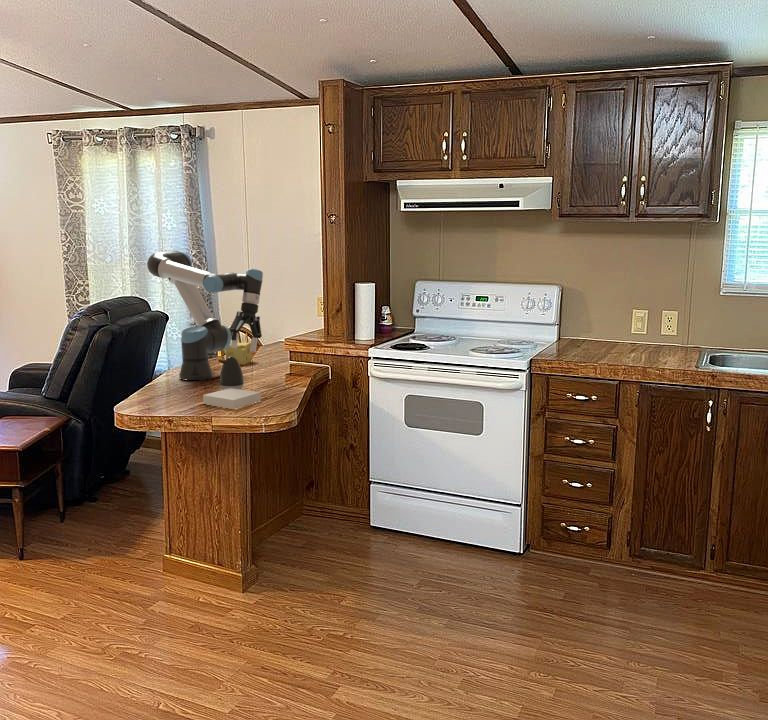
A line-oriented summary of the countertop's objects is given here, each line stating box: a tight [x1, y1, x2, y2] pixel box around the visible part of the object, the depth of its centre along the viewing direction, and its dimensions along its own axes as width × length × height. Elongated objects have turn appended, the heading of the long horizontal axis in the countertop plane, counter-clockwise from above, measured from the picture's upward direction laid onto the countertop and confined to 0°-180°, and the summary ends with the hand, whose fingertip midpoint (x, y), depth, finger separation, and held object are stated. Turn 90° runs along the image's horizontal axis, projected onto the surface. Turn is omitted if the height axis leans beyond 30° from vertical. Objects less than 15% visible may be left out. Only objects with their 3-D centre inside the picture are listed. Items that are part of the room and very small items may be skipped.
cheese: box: [225, 342, 253, 366], centre depth 408 cm, size 10×11×10 cm
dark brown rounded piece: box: [218, 357, 245, 390], centre depth 340 cm, size 10×10×15 cm
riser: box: [202, 388, 262, 410], centre depth 320 cm, size 16×16×4 cm
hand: (243, 349), depth 360 cm, fingers open, 13 cm apart
